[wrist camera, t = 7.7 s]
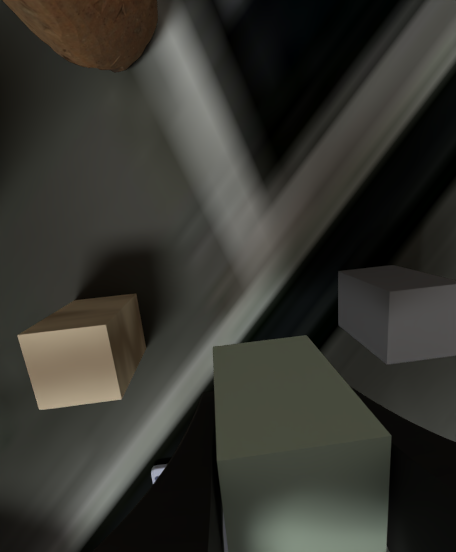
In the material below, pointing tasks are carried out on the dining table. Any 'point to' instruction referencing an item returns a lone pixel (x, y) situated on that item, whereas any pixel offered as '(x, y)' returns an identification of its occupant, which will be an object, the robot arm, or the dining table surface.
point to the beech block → (84, 351)
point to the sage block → (297, 452)
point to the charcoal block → (398, 312)
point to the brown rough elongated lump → (91, 29)
